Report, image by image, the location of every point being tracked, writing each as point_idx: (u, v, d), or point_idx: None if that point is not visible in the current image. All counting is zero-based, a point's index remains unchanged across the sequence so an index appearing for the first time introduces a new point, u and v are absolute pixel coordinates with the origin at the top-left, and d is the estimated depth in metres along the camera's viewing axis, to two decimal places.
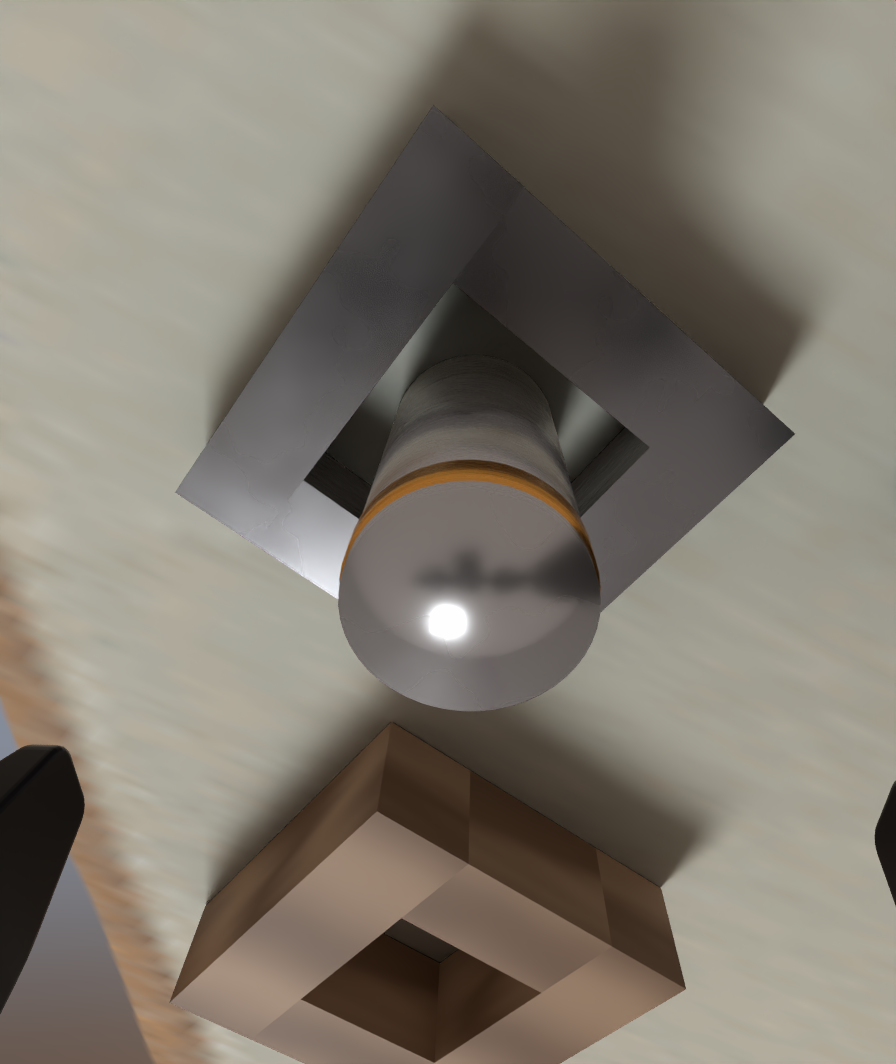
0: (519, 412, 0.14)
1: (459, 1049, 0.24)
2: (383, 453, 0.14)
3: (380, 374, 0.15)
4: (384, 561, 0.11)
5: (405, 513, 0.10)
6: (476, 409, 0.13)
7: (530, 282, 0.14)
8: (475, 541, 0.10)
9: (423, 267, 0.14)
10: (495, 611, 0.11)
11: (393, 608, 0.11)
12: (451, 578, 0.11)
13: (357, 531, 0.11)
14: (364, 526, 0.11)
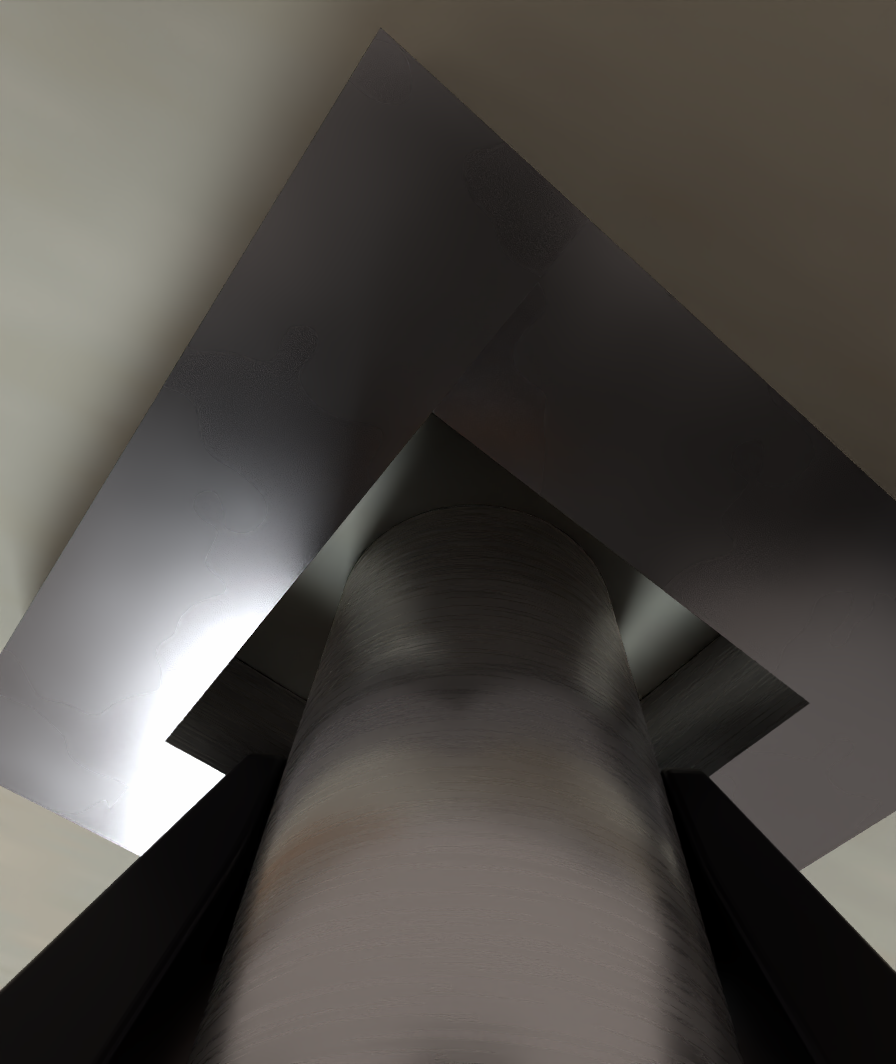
0: (573, 709, 0.06)
1: None
2: (286, 768, 0.07)
3: (292, 575, 0.08)
4: None
5: None
6: (479, 725, 0.06)
7: (593, 413, 0.07)
8: None
9: (368, 382, 0.07)
10: None
11: None
12: None
13: None
14: None
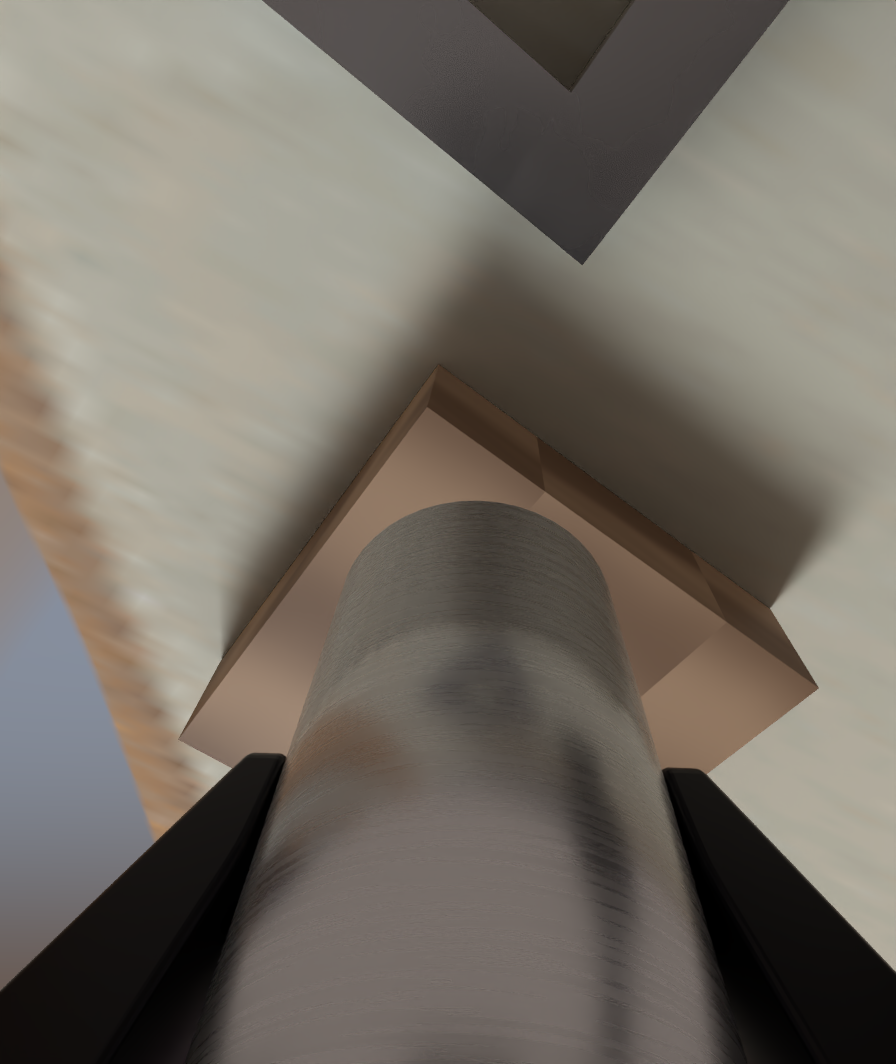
0: (574, 703, 0.06)
1: None
2: (285, 763, 0.07)
3: None
4: None
5: None
6: (479, 720, 0.06)
7: None
8: None
9: None
10: None
11: None
12: None
13: None
14: None
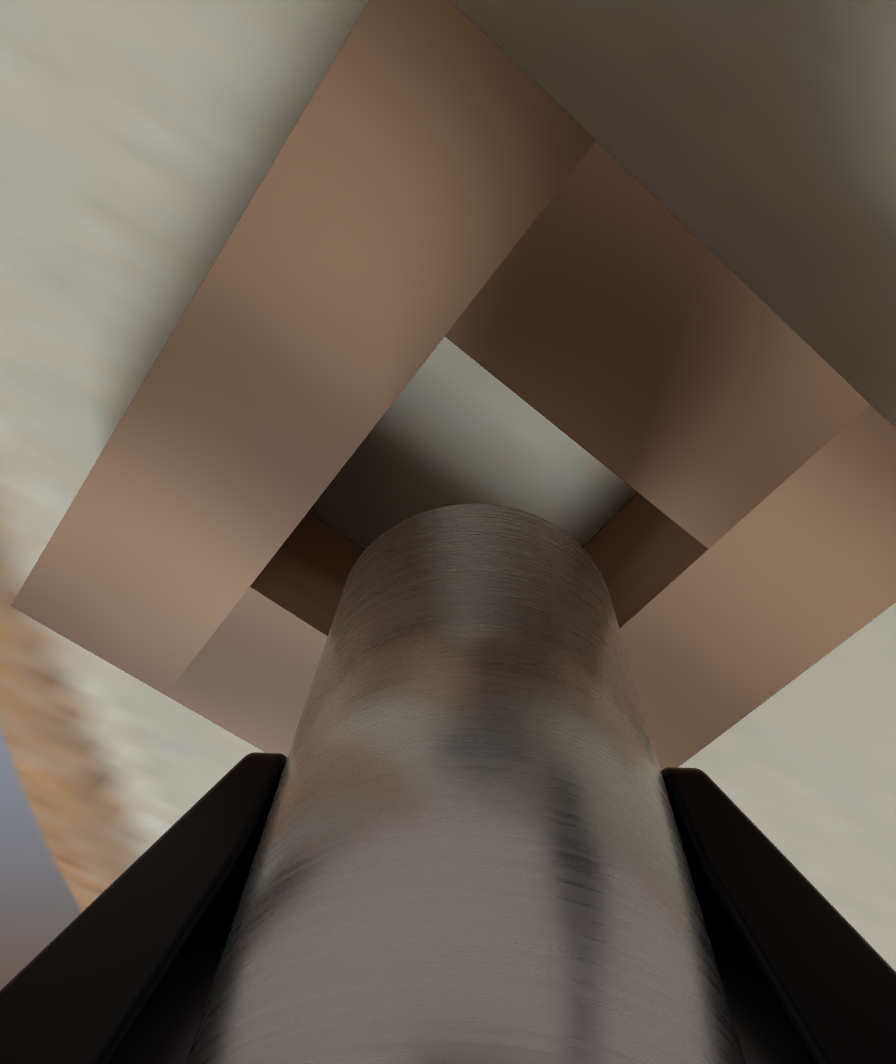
0: (574, 708, 0.06)
1: None
2: (285, 767, 0.07)
3: None
4: None
5: None
6: (479, 725, 0.06)
7: None
8: None
9: None
10: None
11: None
12: None
13: None
14: None
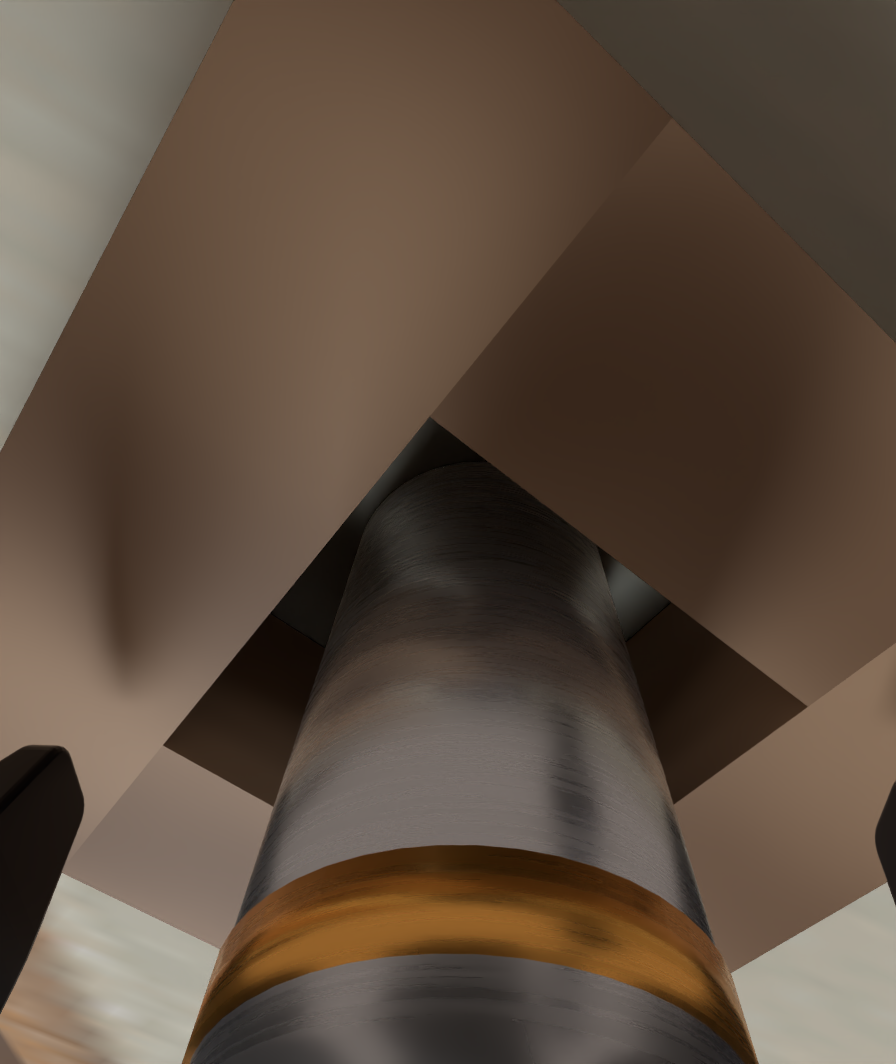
0: (560, 612, 0.08)
1: None
2: (319, 669, 0.08)
3: None
4: None
5: (307, 1048, 0.04)
6: (484, 620, 0.07)
7: None
8: None
9: None
10: None
11: None
12: None
13: (207, 1022, 0.05)
14: (220, 1020, 0.05)
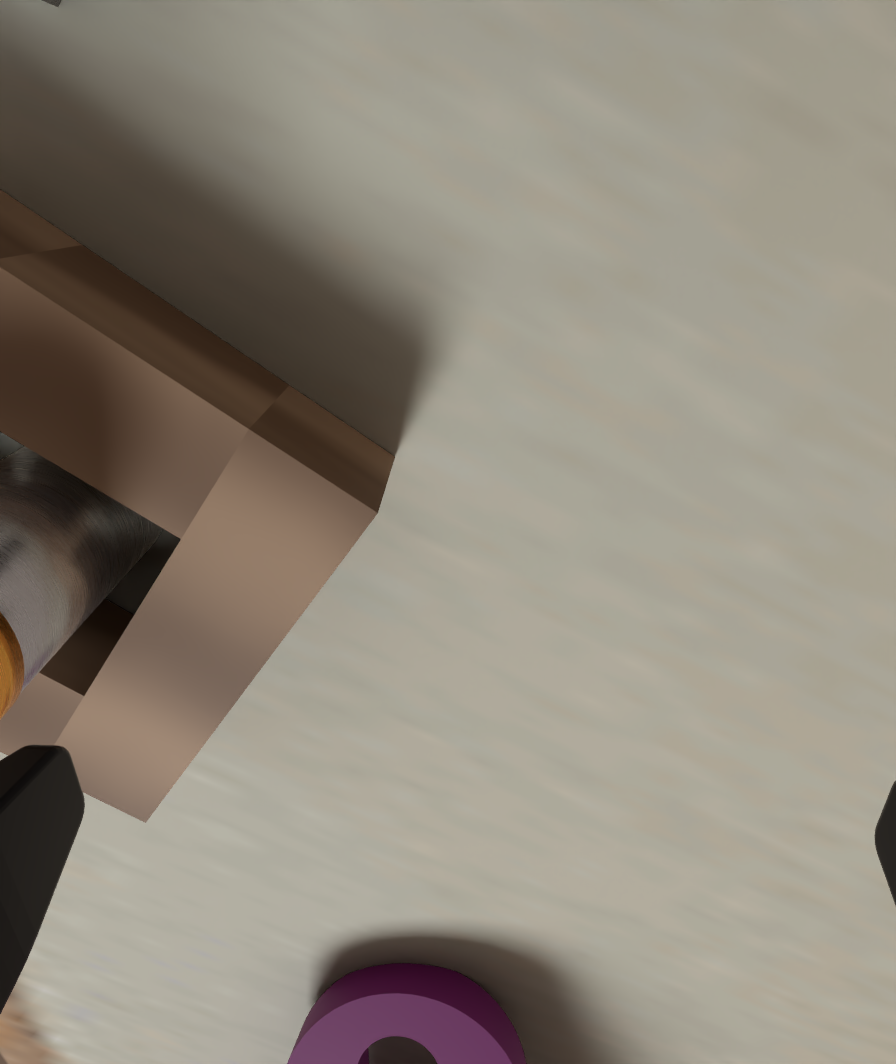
0: (26, 489, 0.15)
1: (107, 665, 0.18)
2: None
3: None
4: None
5: None
6: None
7: None
8: None
9: None
10: None
11: None
12: None
13: None
14: None
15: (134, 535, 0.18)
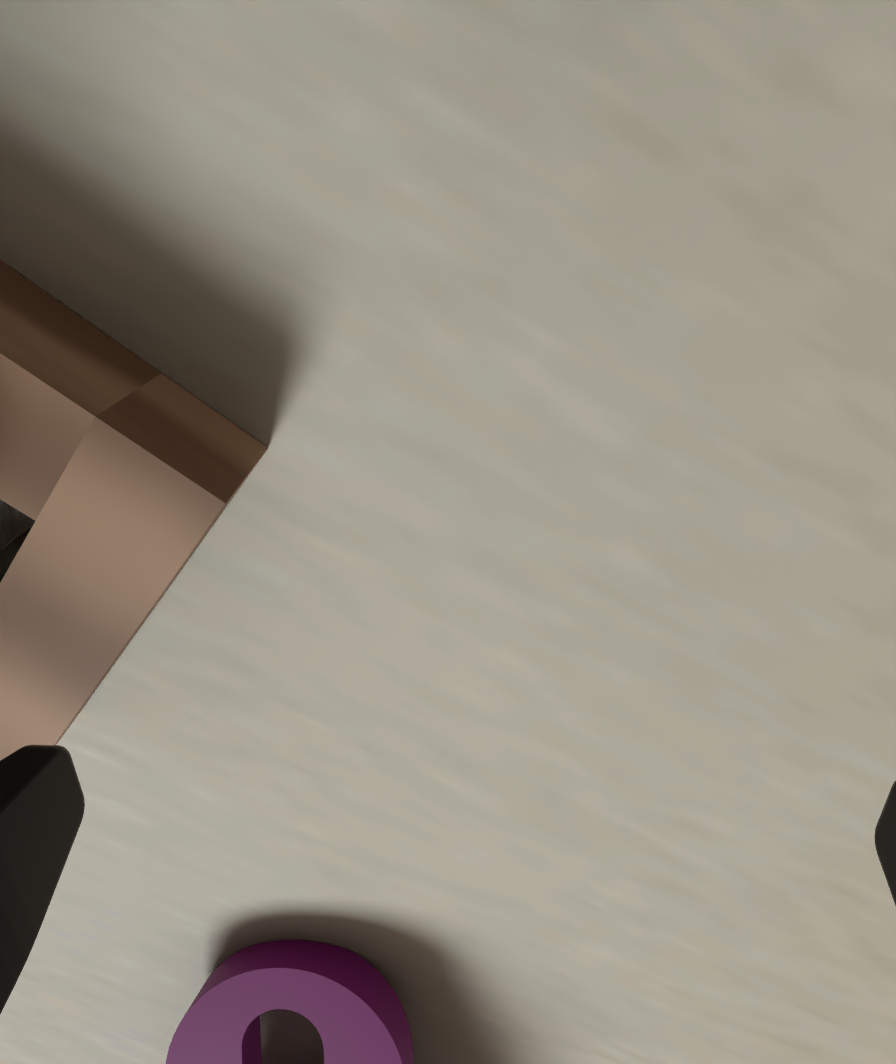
0: None
1: None
2: None
3: None
4: None
5: None
6: None
7: None
8: None
9: None
10: None
11: None
12: None
13: None
14: None
15: (1, 514, 0.18)
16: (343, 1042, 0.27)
